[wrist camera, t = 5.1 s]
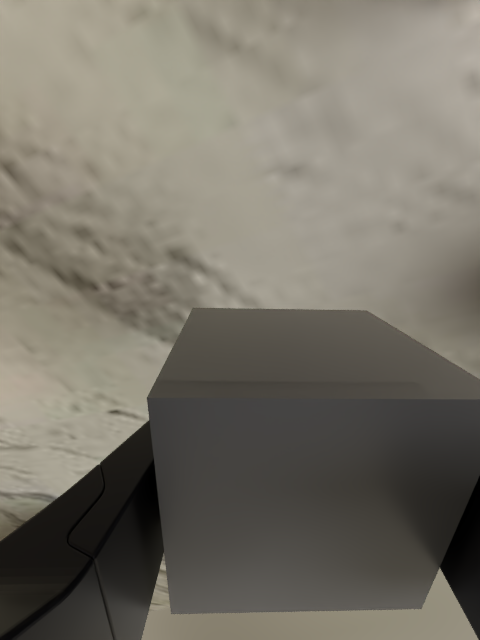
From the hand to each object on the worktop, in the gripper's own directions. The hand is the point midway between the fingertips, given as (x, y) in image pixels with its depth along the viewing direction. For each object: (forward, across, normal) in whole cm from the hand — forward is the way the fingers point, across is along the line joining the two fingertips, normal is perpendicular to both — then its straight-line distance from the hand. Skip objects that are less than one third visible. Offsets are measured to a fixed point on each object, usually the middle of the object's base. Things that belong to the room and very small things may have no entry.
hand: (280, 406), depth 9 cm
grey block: (+1, 0, 0) cm, 1 cm away
